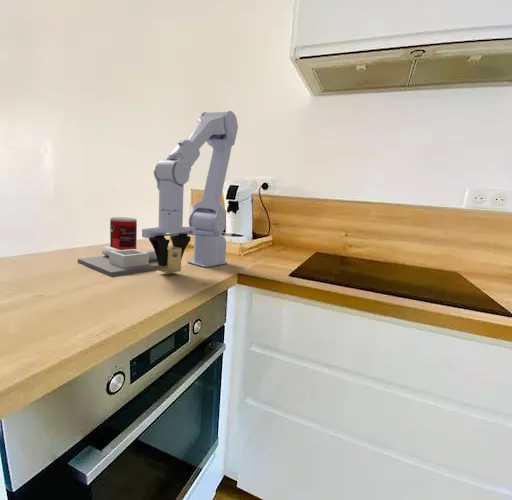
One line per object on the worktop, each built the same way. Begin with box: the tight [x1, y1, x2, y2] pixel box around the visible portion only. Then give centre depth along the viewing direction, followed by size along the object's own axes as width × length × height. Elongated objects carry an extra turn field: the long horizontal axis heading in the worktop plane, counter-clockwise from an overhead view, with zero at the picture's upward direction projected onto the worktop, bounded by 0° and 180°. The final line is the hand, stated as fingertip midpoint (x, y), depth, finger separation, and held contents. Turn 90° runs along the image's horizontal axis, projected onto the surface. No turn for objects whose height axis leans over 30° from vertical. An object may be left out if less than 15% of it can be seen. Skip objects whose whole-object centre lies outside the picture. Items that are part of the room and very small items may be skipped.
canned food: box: [109, 216, 138, 250], centre depth 102 cm, size 8×8×11 cm
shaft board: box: [77, 245, 158, 277], centre depth 87 cm, size 18×18×4 cm
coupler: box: [157, 245, 182, 274], centre depth 80 cm, size 4×5×6 cm
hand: (169, 264), depth 80 cm, fingers closed on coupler, 4 cm apart
